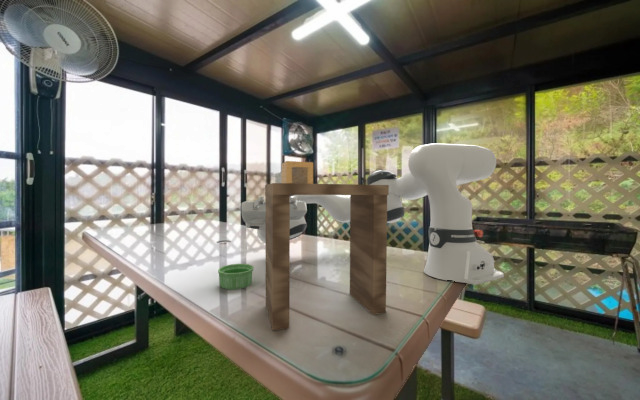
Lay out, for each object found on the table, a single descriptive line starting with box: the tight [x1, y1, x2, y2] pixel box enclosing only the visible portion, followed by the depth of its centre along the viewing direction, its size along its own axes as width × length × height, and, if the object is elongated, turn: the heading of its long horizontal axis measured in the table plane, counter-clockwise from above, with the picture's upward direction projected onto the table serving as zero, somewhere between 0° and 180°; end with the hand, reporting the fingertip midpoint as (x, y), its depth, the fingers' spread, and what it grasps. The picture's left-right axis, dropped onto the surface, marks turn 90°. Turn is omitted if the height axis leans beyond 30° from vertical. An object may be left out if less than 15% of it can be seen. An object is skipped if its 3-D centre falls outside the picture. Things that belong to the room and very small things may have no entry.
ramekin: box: [217, 263, 254, 290], centre depth 69 cm, size 9×9×4 cm
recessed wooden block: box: [274, 160, 314, 184], centre depth 56 cm, size 5×20×4 cm, turn 18°
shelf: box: [264, 182, 389, 332], centre depth 54 cm, size 23×12×26 cm, turn 108°
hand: (277, 198), depth 75 cm, fingers open, 8 cm apart
